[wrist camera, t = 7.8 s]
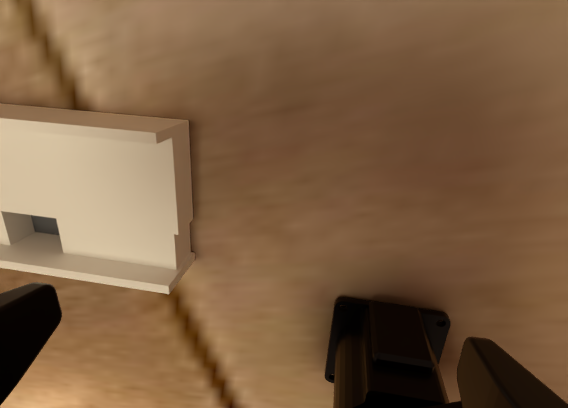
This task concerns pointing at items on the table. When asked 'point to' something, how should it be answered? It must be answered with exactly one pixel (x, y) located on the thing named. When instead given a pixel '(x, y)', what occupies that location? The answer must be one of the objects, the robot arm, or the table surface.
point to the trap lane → (95, 196)
